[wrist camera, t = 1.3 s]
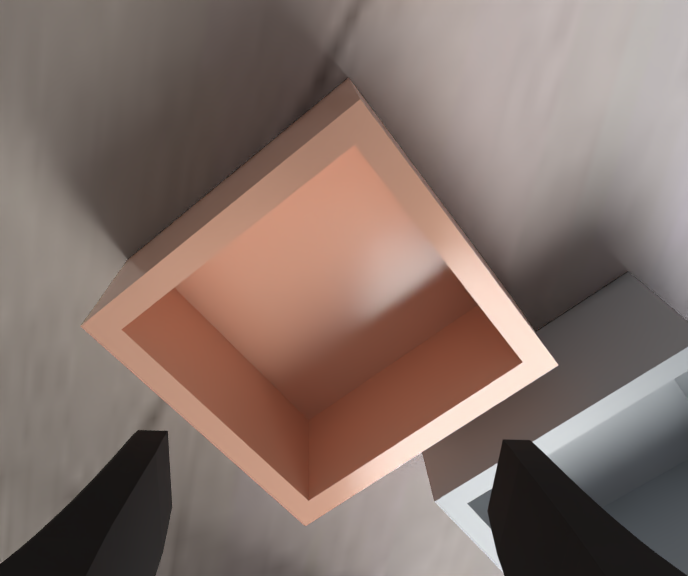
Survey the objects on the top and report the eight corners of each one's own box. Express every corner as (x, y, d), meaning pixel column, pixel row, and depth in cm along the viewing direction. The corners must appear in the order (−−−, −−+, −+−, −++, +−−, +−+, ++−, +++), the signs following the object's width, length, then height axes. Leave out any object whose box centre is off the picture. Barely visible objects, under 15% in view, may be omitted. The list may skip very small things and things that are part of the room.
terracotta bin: (305, 433, 26) (305, 526, 21) (127, 259, 22) (80, 326, 18) (510, 295, 23) (558, 364, 19) (348, 77, 20) (360, 99, 15)
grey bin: (535, 547, 29) (576, 648, 25) (412, 413, 26) (434, 501, 21) (732, 435, 27) (818, 523, 22) (628, 271, 23) (705, 336, 19)
